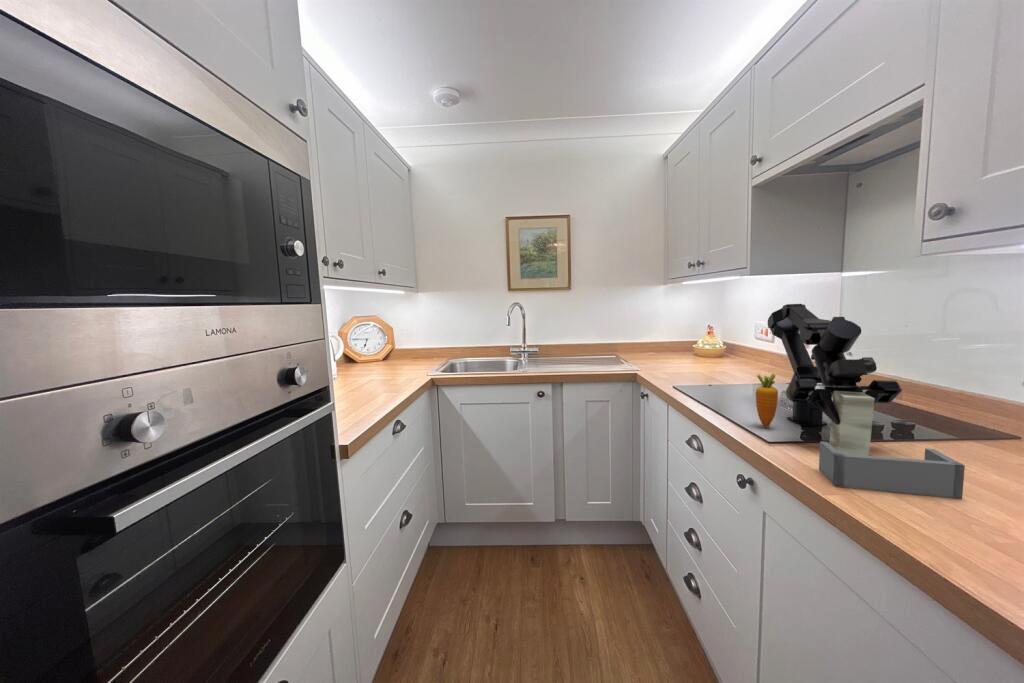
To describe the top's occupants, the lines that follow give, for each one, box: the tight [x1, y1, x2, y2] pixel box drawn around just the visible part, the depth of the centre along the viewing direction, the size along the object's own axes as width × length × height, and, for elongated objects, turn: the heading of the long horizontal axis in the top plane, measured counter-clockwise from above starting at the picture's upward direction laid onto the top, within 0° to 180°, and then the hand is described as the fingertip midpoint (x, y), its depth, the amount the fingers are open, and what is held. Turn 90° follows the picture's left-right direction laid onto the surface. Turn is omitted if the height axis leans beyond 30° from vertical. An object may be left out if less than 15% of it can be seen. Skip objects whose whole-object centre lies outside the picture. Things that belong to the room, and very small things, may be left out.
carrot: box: [755, 373, 779, 429], centre depth 99 cm, size 5×5×15 cm
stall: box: [818, 441, 966, 500], centre depth 69 cm, size 7×17×6 cm, turn 70°
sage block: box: [828, 391, 875, 456], centre depth 80 cm, size 5×5×13 cm
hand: (854, 424), depth 79 cm, fingers closed on sage block, 5 cm apart
